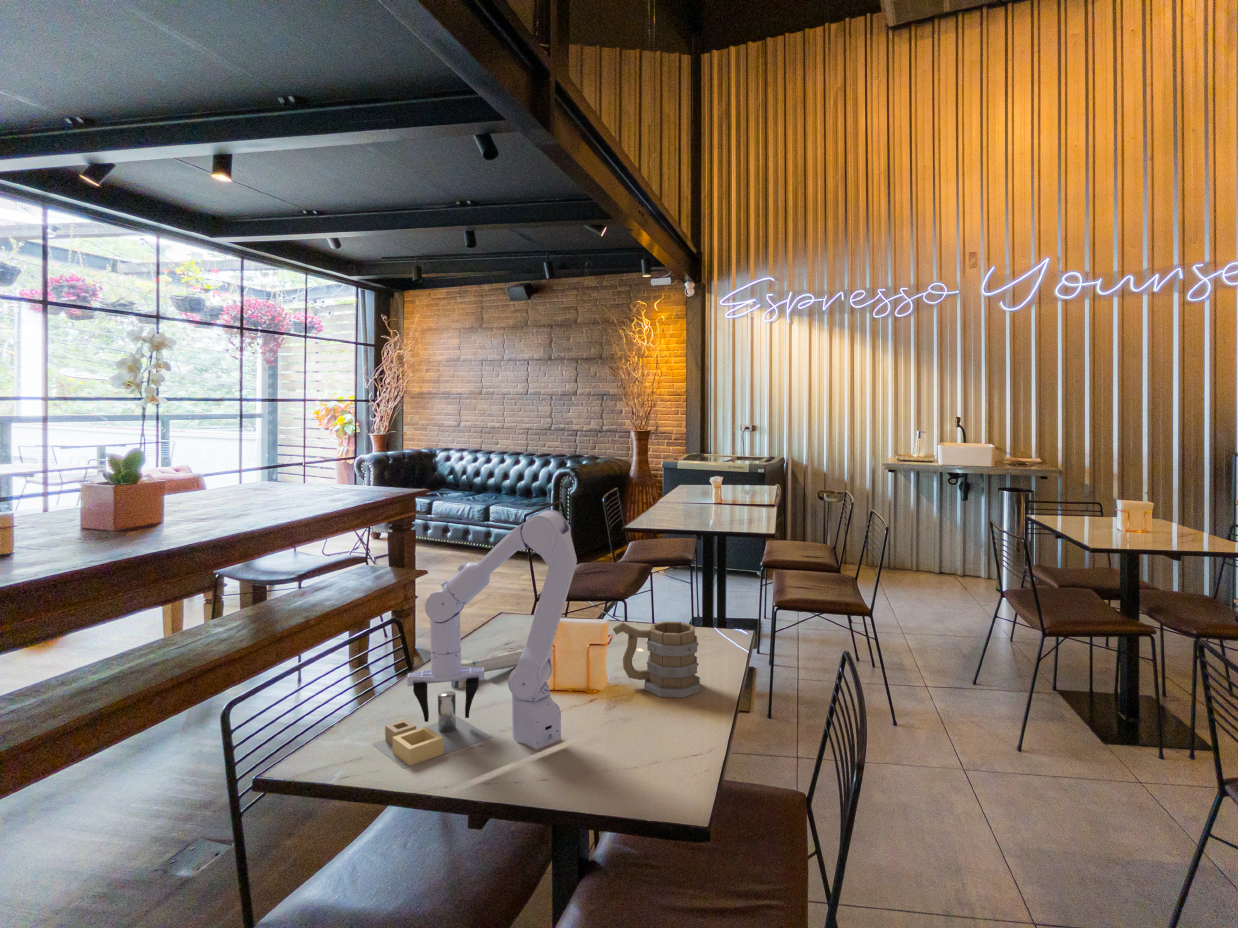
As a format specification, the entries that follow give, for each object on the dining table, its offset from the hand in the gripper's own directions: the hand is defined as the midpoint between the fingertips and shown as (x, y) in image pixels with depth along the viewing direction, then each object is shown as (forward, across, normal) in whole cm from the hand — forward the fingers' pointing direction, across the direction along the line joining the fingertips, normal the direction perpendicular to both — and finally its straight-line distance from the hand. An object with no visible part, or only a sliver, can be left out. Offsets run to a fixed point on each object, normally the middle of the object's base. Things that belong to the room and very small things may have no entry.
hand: (446, 717), depth 137 cm
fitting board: (+3, +3, +4) cm, 6 cm away
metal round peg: (+2, 0, 0) cm, 2 cm away
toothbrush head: (+4, -11, -30) cm, 32 cm away
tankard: (+3, -47, -14) cm, 49 cm away
